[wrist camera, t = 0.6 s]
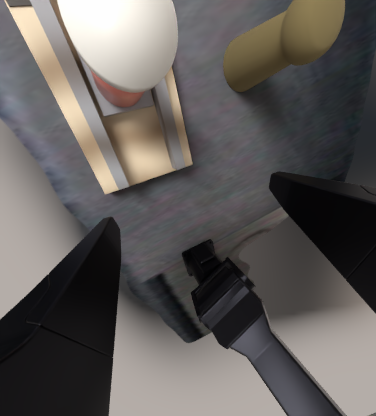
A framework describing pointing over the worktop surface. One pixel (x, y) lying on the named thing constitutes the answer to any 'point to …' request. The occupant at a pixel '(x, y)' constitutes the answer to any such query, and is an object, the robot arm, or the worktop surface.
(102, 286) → the robot arm
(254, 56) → the cork
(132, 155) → the plug rig
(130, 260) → the worktop surface
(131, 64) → the red plug
